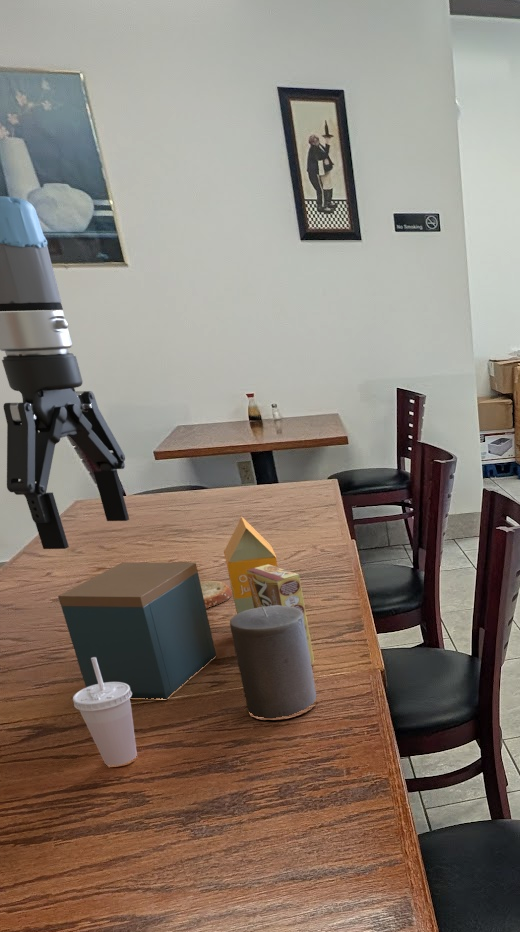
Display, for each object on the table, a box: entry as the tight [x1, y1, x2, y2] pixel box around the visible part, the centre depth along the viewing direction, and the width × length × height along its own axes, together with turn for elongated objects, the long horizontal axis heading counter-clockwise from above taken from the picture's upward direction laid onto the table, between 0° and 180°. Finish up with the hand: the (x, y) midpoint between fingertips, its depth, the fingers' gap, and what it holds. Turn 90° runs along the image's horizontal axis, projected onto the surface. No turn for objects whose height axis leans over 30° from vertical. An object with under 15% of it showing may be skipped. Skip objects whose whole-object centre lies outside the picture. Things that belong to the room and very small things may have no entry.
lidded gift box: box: [57, 561, 217, 699], centre depth 124 cm, size 12×16×16 cm
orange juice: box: [223, 516, 279, 615], centre depth 138 cm, size 8×9×20 cm
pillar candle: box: [229, 605, 317, 718], centre depth 114 cm, size 10×10×15 cm
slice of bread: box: [200, 580, 233, 610], centre depth 156 cm, size 18×18×4 cm
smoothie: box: [72, 657, 138, 766], centre depth 101 cm, size 6×6×14 cm
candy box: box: [247, 564, 315, 664], centre depth 128 cm, size 9×4×15 cm, turn 50°
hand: (89, 533), depth 104 cm, fingers open, 13 cm apart
